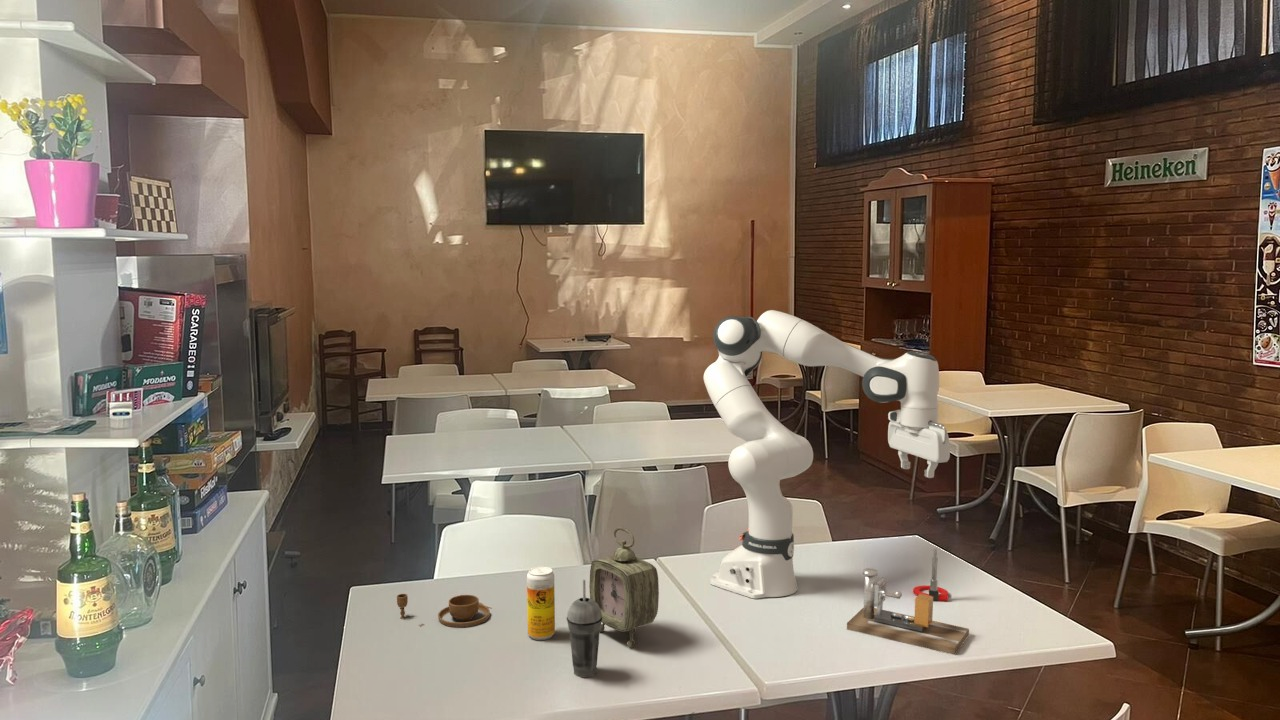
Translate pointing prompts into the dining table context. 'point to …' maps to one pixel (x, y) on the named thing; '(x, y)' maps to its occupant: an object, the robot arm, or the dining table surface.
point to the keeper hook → (873, 592)
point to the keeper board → (913, 633)
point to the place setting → (455, 610)
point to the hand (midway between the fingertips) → (917, 472)
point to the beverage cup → (584, 634)
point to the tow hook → (933, 584)
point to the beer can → (540, 603)
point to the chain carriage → (914, 623)
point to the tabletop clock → (624, 589)
